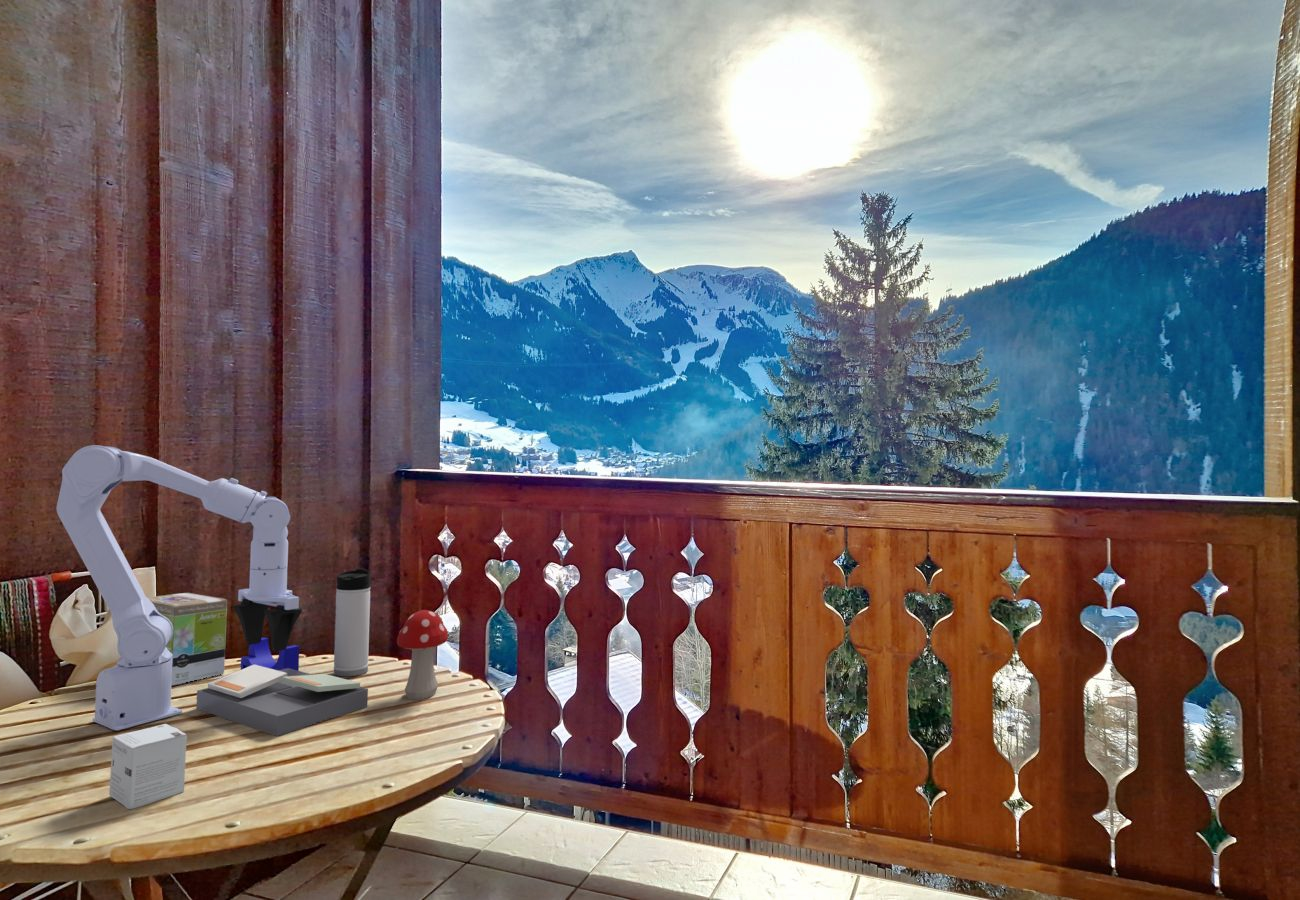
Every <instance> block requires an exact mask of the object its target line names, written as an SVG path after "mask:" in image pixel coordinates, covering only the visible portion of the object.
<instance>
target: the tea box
mask: <svg viewBox="0 0 1300 900" xmlns="http://www.w3.org/2000/svg"><path fill="white" fill-rule="evenodd" d="M146 597H147V598H148V599H149V600H150V601H151V602H152V603H153V604H154V606H155V608H156V610H157V611H158V612H159V613H160V614H161V615H163V616H165V617H166V618H168V619H169V620H170V622H171V623H172V626H173V635H172V638H171V640H170V641H169V643H168V644H167V645H166V648H167V649H168V651H169V652H170V653H172V654H173V657H172V685H171V687H172V686H177V685H183V684H187V683H186V682H188V683H191V682H190V681H193V682H195V681H194V680H197V681H199V680H198V679H201V680H203V679H202V678H206V677H210V678H212V677H211V676H214V677H216V676H215V675H218V676H221V675H220V674H222V675H223V674H225V662H226V654H225V653H226V638H227V637H226V634H227V615H228V599H227V598H222V597H215V596H210V595H203V594H197V593H192V592H183V593H181V592H180V593H172V594H165V595H157V596H146ZM206 679H207V678H206ZM182 683H183V684H182Z"/></svg>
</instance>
